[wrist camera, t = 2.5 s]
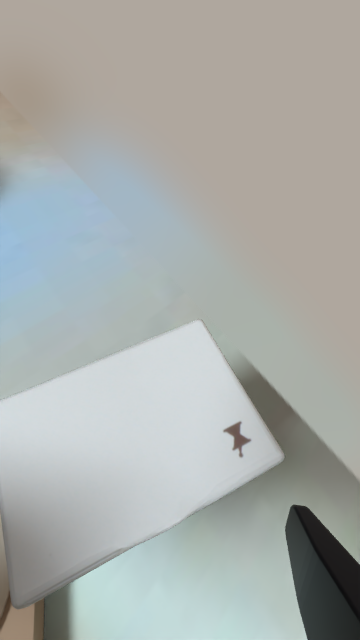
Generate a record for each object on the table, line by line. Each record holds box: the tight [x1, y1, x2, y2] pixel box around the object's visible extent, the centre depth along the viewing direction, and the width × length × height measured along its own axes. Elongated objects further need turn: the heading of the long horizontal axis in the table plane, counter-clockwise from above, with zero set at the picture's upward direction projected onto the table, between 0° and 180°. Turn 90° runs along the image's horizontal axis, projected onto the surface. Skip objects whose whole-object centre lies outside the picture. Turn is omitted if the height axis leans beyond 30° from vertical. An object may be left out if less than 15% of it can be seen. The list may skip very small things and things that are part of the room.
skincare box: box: [0, 319, 285, 609], centre depth 12 cm, size 6×4×12 cm
